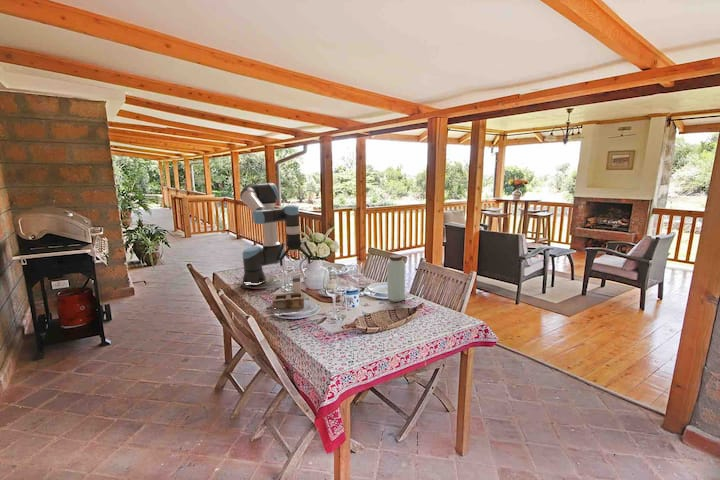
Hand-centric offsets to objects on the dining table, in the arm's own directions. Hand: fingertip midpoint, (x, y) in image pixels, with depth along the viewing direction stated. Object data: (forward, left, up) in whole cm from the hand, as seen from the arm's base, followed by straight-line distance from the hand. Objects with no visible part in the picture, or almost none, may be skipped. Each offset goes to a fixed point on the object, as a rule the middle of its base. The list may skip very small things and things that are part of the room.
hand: (295, 270), depth 201 cm
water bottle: (+13, +55, -18) cm, 59 cm away
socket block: (+11, -5, -17) cm, 21 cm away
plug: (0, 0, -16) cm, 16 cm away
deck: (0, 0, -17) cm, 17 cm away
